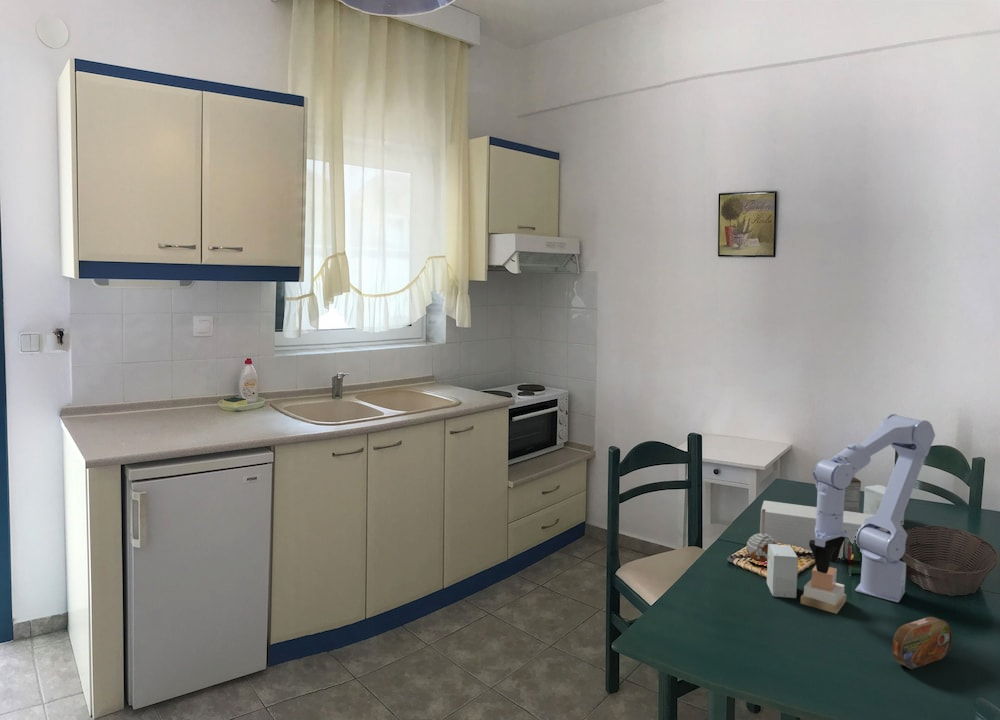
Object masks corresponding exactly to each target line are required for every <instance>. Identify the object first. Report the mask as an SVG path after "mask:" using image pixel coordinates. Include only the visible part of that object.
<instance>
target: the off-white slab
mask: <svg viewBox="0 0 1000 720" xmlns="http://www.w3.org/2000/svg"><path fill="white" fill-rule="evenodd" d="M803 593H804V596H806V597H809V598H812V599H816V600H819V601H822V602H826V603H829V604H833V605H836V604H837V602H838V601H839V600H840V599H841V598H842V597H843V595H844V594H845V584H842V583H838V582H836V585H835V587H834V588H833V590H832V591H828V590H824V589H820V588H816V587H812V586H811V579H810V580H809V581H807V582H806V583H805V585H804V586H803Z"/></svg>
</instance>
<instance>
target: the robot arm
mask: <svg viewBox="0 0 1000 720" xmlns="http://www.w3.org/2000/svg"><path fill="white" fill-rule="evenodd" d="M935 437H936V433H935V431H934V427H933V424H932V423H931V422H930V421H928V420H921V419H917V418H912V417H911V418H910V417H907V416H901V415H898V414H895V413H890V414H889V415H887V416H886V417H885V418H883V419H881V421H880V424H879V428H877V429H876V430H875V431H874V432H873V433H872V434H871V435H869V436H868V437H867V438H866V439H864V440H863V441H862V442H861V443H860V444H858V443H849V444H847V445H846V448H844V449H843V450H841V451H839V452H838V453H837V454H835V455H834V456H833V457H831V458H830V459H822V460H820V461H818V462H817V463H816V464H815V466H814V470H813V471H811V475H812V478H813V480H814V481H815V488H816V490H817V495H816V496H817V498H816V507H817V512H816V526H815V534H816V537H815V540H810V541H809V546H810V548H811V550H812V552H813V554H812V556H813V558H814V564H815V565H816V568H817V571H818V572H822V573H827V572H828V569H829V567H830V565H831V564H830V563H833V564H837V561H838V556H839V552H840V549H841V546H842V544H843V542H844V540H845V539H846V537H847V536H848V532H845V531H843V513H844V496H845V488H846V487H848V486H849V484H850V483H851V480H852V478H853V477H855V476H856V474H857V473H858V472H860V471H861V470H863V469H864V468H865V467H867V466H868V465H869V464H870V463H871V460H872V459H871V457H872V456H873V455H876V453H879V452H880V451H882V450H883V449H885V448H887V447H888V446H890V445H891V447H892V448H893V449H894V450H895V451H896V453H897V455H898V457H897V459H896V462H895V464H894V466H893V470H892V473H891V475H890V478H889V480H888V483H887V486H886V487H887V488H886V490H885V493H884V496H883V498H882V501H881V503H880V506H879V509H878V511H877V514H876V515H873V516H870V517H868V518H866V519H865V520H864V523H863V524H862V526H861V527H860V528H859V529H858V531H857V533H856V538H855V540H856V544H857V546H858V547H859V548H860V552H861V553H862V562H861V568H860V569H861V571H860V572H861V573H860V583H858V585H857V586H856V588H855V591H856V592H858V593H861V594H865V595H868V596H871V597H872V596H873V597H876V598H880V599H882V600H883V599H884V600H887V601H891V602H895V603H899V602H900V601H901V599H902V598H903V596H904V594H905V592H906V577H907V563H906V562H905V561H901V560H900V559H901V558H903V557H904V554H905V552H906V542H907V538H908V533H907V531H906V530H905V529H904V526H901V524H900V522H901V519H902V517H903V514H904V515H905V511H906V509H907V505H908V503H909V500H910V498H911V496H912V494H913V491H914V488H915V485H916V483H917V480H918V478H919V474H920V472H921V469H922V467H923V464H924V462H925V458H926V457H928V455H929V452H930V450H931V447H932V445H933V442H934V440H935ZM879 528H882V529H885V530H888V531H887V532H885V531H882V530H880V529H879Z"/></svg>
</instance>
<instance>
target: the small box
mask: <svg viewBox="0 0 1000 720" xmlns="http://www.w3.org/2000/svg"><path fill="white" fill-rule="evenodd" d="M798 566H799V557H798V555H797V552H794V550H793V548H792V547H791V545H778V544H768V561H767V566H766V567H767V568H766V571H767V572H766V584H767V587H768V589H769V592H770V593H771V595H772V597H775V598H790V599H797V594H798V593H797V592H798V591H797V589H798V568H799V567H798Z"/></svg>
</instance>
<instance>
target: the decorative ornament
mask: <svg viewBox="0 0 1000 720" xmlns="http://www.w3.org/2000/svg"><path fill="white" fill-rule="evenodd" d="M761 509H762V508H761ZM764 528H765V509H762V526H761V533H760V532H759V533H756V534H753V535H751V536H750V537H749V538H748V540H747V542H746V553H747V554H748V556H750V558H752V559H754V560H756V561H762V562H765V561H768V544H776V541H775V540H774V539H773V538H771V536H769V535H767V534H764Z"/></svg>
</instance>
